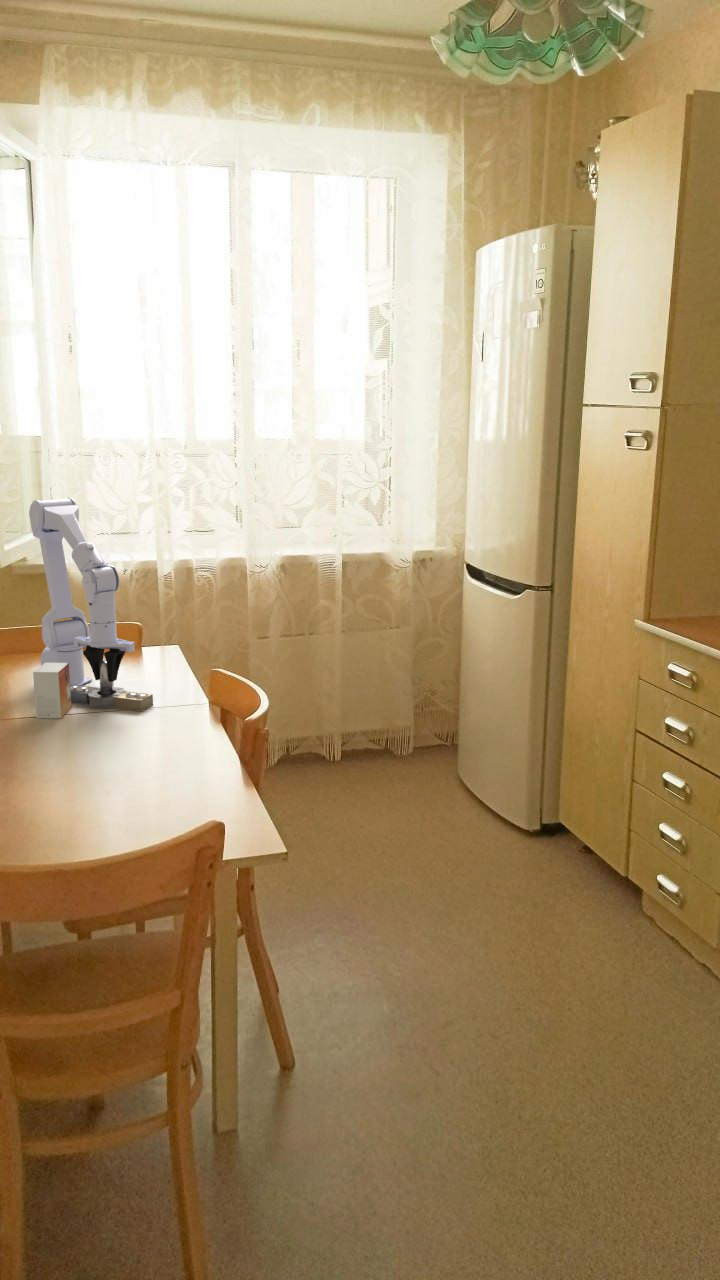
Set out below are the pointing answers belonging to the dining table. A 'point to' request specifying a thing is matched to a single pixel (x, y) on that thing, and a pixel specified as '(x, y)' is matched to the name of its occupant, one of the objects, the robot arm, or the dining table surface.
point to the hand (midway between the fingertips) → (106, 679)
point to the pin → (105, 679)
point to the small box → (52, 690)
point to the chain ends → (110, 698)
